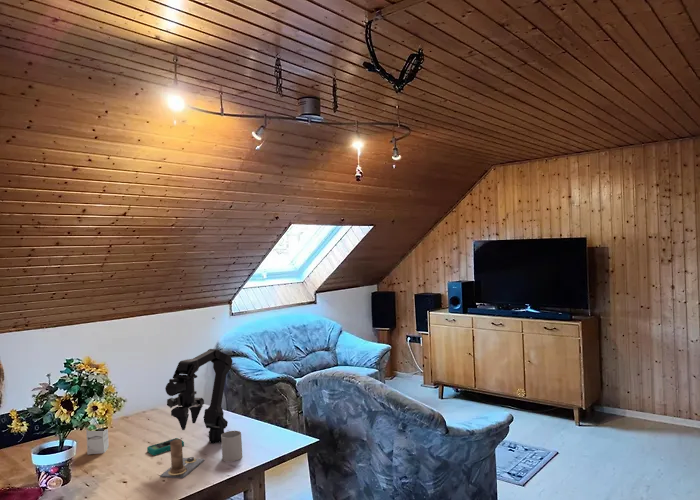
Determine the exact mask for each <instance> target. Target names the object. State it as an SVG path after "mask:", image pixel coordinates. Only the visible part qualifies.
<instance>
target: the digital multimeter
mask: <svg viewBox="0 0 700 500" xmlns="http://www.w3.org/2000/svg"><path fill="white" fill-rule="evenodd" d="M175 439H179V438H178V437H176V438H173V439H169V440H166V441H162V442H158V443H155V444H151V445H149V446H147V450H146V451H147V452H148V454H150V455H152V456H157V455H160V454H163V453H166V452H171V446H170V441H172V440H175ZM184 446H185V441H184V440H182V448H183V447H184Z"/></svg>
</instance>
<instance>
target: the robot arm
mask: <svg viewBox="0 0 700 500" xmlns="http://www.w3.org/2000/svg"><path fill="white" fill-rule="evenodd" d="M210 362H211V363H212V364H213V366H212V369H213V371H214V374H215V375H214V380H213V386H212V393H211V400H210V405H209V406H208V408H205V410H204V414H203V424H204V425H205V428H206V429H209V430H208V441H209V442H210V444H218V443H222V441H221V435H222V434H223V433H225V429H226V428H227V427H228V424H229V423H228V422H229V421H228V420H227V419H225V417H224V410H223V407H222V403H223V399H224V391H225V384H226V378H227V375H228V373H229V372H230V371H231V368H232V364H233V358H232V357H231V355H228V354H226V353H225V352H223V351H220V350H219V349H217V348H209V349H208V350H207V351H205V352H203V353H200V354H199V355H196V357H193V358H187V359H182V360H181V361H179V362H178V363H177V366H176V369H175V371H174V373H173V376H172V378H170V379H169V380H168V382H167V384H166V385H165V388H164V389H165V392H166V394H167V395H168V396H170V397H169V398H168V399H166V405H167V406H168V407H169V408H170V409H171V410H170V415H171V416H172V417H174V418H176V419H177V420H178V423H179V425H180V429H181V431H185V430H186V427H187V424H188V420H189V415H190V416H191V421H192V424H196V422H197V419H198V417H199V415H200V414H201V410H202V408H203V407H204V404H205V399H204V398H203V397H196V395H197V391H196V390H195V379H196V378H198V375H197V374H196V373H197V372H198V371H199V369H200V367H202V366H204V365H205V364H207V363H210ZM176 395H177V396H176ZM173 396H176V397H174V398H173ZM189 411H190V414H189Z"/></svg>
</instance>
